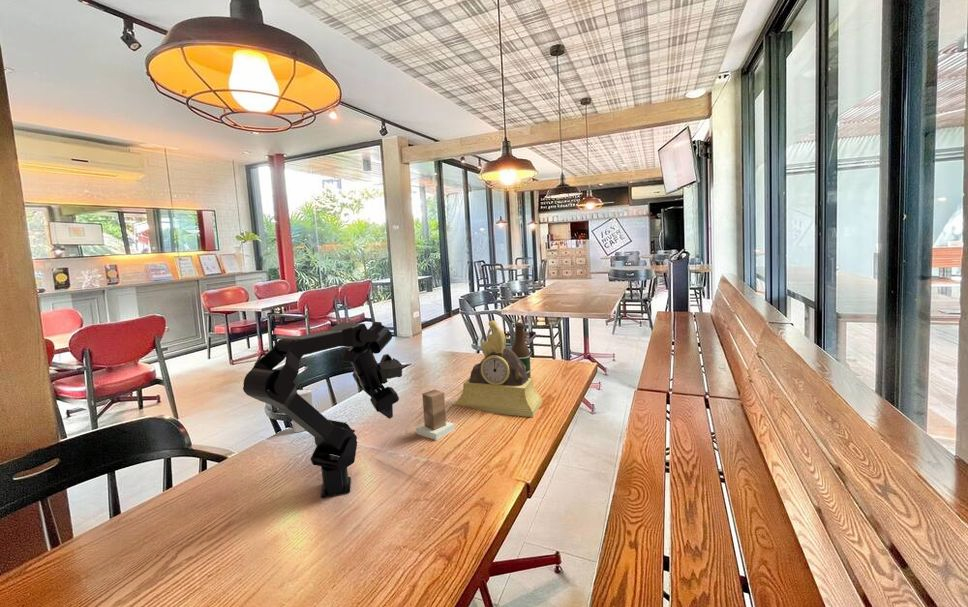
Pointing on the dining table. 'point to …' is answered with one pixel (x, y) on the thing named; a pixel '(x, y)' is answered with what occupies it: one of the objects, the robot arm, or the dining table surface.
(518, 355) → the beer bottle
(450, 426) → the tower top block
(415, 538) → the dining table surface
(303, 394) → the skincare box
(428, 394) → the walnut pillar
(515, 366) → the decorative clock
